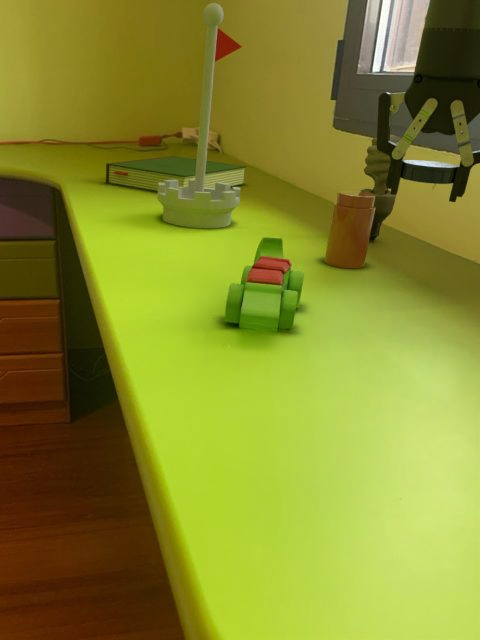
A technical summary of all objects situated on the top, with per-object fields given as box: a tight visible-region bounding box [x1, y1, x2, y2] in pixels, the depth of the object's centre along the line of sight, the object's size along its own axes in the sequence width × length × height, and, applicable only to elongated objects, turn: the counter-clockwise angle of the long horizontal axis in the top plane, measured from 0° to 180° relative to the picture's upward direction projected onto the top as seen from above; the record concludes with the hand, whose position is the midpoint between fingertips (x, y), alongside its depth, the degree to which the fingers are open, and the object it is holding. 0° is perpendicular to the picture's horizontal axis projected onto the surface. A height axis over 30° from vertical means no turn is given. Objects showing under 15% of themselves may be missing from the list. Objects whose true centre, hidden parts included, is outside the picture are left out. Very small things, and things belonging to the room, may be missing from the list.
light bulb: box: [360, 134, 407, 242], centre depth 101 cm, size 6×6×15 cm
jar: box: [323, 190, 375, 269], centre depth 90 cm, size 5×5×9 cm
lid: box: [400, 159, 457, 185], centre depth 77 cm, size 6×6×2 cm
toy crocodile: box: [224, 236, 305, 333], centre depth 69 cm, size 20×7×6 cm, turn 165°
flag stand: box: [156, 2, 243, 229], centre depth 104 cm, size 13×13×30 cm
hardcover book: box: [105, 155, 247, 193], centre depth 143 cm, size 25×19×4 cm
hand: (423, 196), depth 78 cm, fingers closed on lid, 5 cm apart
